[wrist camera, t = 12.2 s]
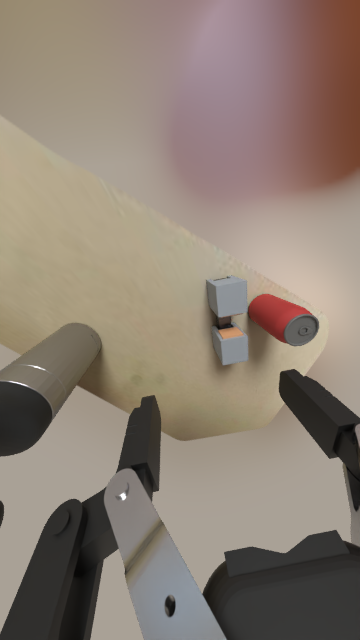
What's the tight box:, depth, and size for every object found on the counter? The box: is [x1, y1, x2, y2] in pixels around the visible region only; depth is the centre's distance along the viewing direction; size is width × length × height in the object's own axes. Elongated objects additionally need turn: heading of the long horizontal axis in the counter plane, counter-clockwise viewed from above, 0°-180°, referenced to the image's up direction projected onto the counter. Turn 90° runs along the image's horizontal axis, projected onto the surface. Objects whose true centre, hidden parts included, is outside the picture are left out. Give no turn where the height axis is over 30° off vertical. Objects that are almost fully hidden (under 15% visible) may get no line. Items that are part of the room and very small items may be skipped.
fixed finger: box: [206, 275, 247, 318], centre depth 32 cm, size 5×6×7 cm
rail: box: [213, 278, 231, 330], centre depth 36 cm, size 2×16×2 cm, turn 10°
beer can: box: [248, 294, 319, 346], centre depth 32 cm, size 7×7×12 cm
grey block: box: [212, 322, 248, 365], centre depth 36 cm, size 5×6×7 cm
